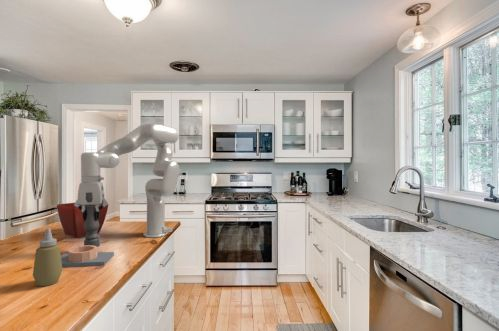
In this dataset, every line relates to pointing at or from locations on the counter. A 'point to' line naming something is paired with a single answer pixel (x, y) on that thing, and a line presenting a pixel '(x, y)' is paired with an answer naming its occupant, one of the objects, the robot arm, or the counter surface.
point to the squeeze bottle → (47, 261)
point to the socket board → (88, 263)
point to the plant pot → (76, 219)
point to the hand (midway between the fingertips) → (91, 219)
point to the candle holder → (91, 224)
